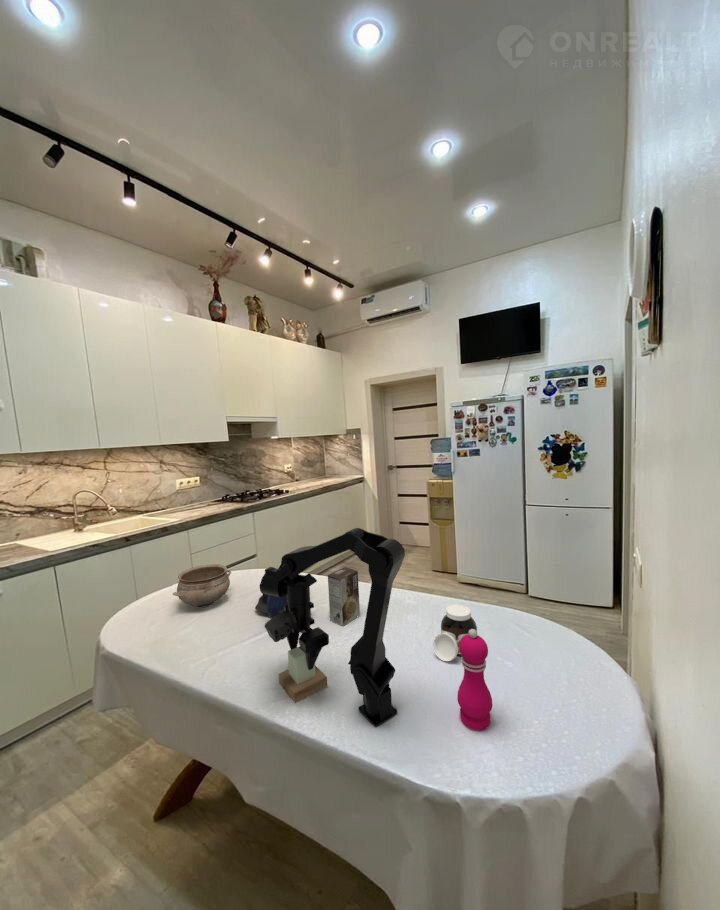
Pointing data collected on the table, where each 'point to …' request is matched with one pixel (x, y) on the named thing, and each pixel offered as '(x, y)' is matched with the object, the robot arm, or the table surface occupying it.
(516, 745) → the table surface
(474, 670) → the pepper mill
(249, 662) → the table surface
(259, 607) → the casserole
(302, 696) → the walnut block
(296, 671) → the sage cube
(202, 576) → the cooking pot
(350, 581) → the coffee box
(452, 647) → the spread jar
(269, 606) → the decorative orb
